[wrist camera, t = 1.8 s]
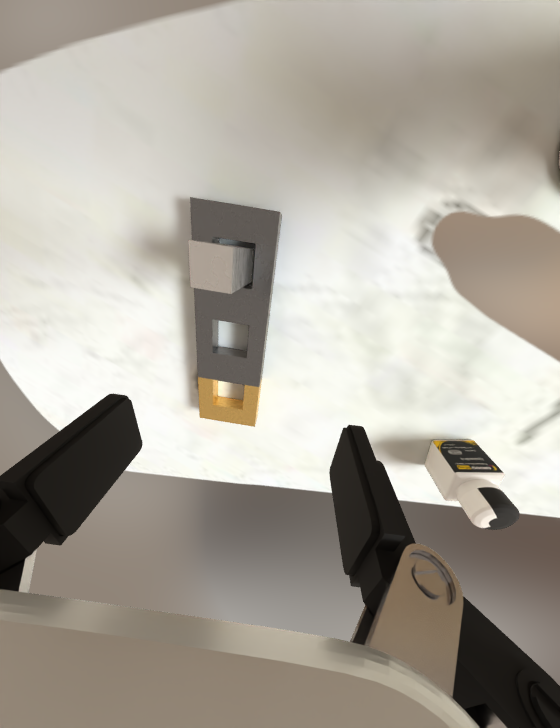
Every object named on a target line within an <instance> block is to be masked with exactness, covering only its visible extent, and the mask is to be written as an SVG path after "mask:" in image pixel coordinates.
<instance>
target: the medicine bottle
mask: <svg viewBox="0 0 560 728" xmlns="http://www.w3.org/2000/svg"><path fill="white" fill-rule="evenodd" d="M425 467H426V469H427V471H428V472H429V474H430V476H431V477H432V479H433V481H434V483H435V484H436V486H437V488H438V489H439V491H440V493H441V494H442V496H443V498H444V499H445V500H446V501H459V503H460V504H461V506H462V508H463V509H464V511H465V512H466V514H467V515H468V517H469V518H470V520H471V521H472V523H473V524H474V525H476V526H478V527H480V528H483V529H491V530H497V529H503V528H507V527H509V526H511V525H512V524H514V523H515V522H516V521H517V520H518V519H519V511H518V509H517V508H516V507H515V506H514V504H513V503H512V502H511V501H510V500H509V499H508V497H507V496H506V495H505V494H504V493H503V491H502V490H501V489H500V488H499V487H498V486H499V485H500V483H501V481H502V480H503V478H504V476H505V474H504V473H503V472H502V471H501V470H500V468H499V467H498V466H497V465H496V464H495V463H494V462H493V461H492V460H491V459H490V458H489V457H488V455H487V454H486V453H485V452H484V451H483V450H482V449H481V448H480V447H479V446H478V445H477V444H476V442H475V441H473V440H433V441H432V443H431V446H430V449H429V452H428V455H427V458H426V462H425Z"/></svg>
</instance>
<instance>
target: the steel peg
mask: <svg viewBox="0 0 560 728" xmlns="http://www.w3.org/2000/svg"><path fill="white" fill-rule="evenodd" d="M188 248H189V267H190V287H192V288H198V289H204V290H210V291H216V292H222V293H228V294H232V293H234V292H236V291H237V290H239V289H240V288H242V287H244V286H245V285H247V284H249V283H250V282H252V272H253V259H254V249H252V248H246V247H240V246H234V245H228V244H221V243H212V242H203V241H194V240H188Z"/></svg>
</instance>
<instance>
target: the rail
mask: <svg viewBox="0 0 560 728" xmlns="http://www.w3.org/2000/svg"><path fill="white" fill-rule="evenodd" d="M190 202H191V225H192V240H194V241H203V242H212V243H219V238H224V239H230V240H236V241H242V242H248V243H254V244H256V247H255V260H254V273H253V285H252V286H248V285H245V286H244V287H242V288H240V289H239V290H237V291H236V292H234V293H232V294H228V293H222V292H216V291H210V290H204V289H198V288H194V295H195V318H196V341H197V364H198V387H199V410H200V418H206V419H212V420H218V421H224V422H230V423H236V424H242V425H248V426H254V427H255V424H256V420H257V414H258V406H259V398H260V390H261V381H262V373H263V365H264V357H265V349H266V340H267V332H268V324H269V316H270V308H271V300H272V291H273V283H274V275H275V267H276V259H277V251H278V242H279V234H280V226H281V218H282V215H281V213H280V212H277V211H271V210H265V209H259V208H253V207H247V206H241V205H234V204H228V203H222V202H216V201H210V200H204V199H197V198H191V197H190ZM218 320H220V321H226V322H232V323H238V324H244V325H249V336H248V349H247V351H243V350H237V349H231V348H225V347H219V346H218ZM218 380H219V381H225V382H231V383H237V384H243V385H245V387H244V399H243V400H237V399H231V398H225V397H219V396H218Z"/></svg>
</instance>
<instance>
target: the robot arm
mask: <svg viewBox="0 0 560 728" xmlns="http://www.w3.org/2000/svg"><path fill="white" fill-rule="evenodd" d="M559 167H560V153H559ZM141 448H142V440H141V436H140V432H139V428H138V424H137V421H136V417H135V413H134V409H133V405H132V402H131V400H130V399H129V398H128V397H127V396H125V395H119V394H109V395H107V396H106V397H105V398H103V399H102V400H101V401H99V402H98V403H97V404H95V405H94V406H93V407H91V408H90V409H89V410H87V411H86V412H85V413H83V414H82V415H81V416H79V417H78V418H77V419H75V420H74V421H73V422H71V423H70V424H69V425H67V426H66V427H65V428H63V429H62V430H61V431H59V432H58V433H57V434H55V435H54V436H53V437H51V438H50V439H49V440H47V441H46V442H45V443H43V444H42V445H41V446H39V447H38V448H37V449H35V450H34V451H33V452H32V453H30V454H29V455H27V456H26V457H25V458H24V459H22V460H21V461H19V462H18V463H17V464H15V465H14V466H13V467H11V468H10V469H9V470H8V471H6V472H5V473H3V474H2V475H1V476H0V728H560V686H559V685H558V684H557V683H556V682H555V681H554V680H553V679H552V678H551V677H550V676H549V675H548V674H547V673H546V672H545V671H544V670H543V669H542V668H541V667H540V666H538V665H537V664H536V663H535V662H534V661H533V660H532V659H531V658H530V657H529V656H528V655H527V654H525V653H524V652H523V651H522V650H521V649H520V648H519V647H518V646H517V645H516V644H515V643H514V642H512V641H511V640H510V639H509V638H508V637H507V636H506V635H505V634H504V633H502V631H501V630H499V629H498V628H497V627H496V626H495V625H494V624H493V623H492V622H491V621H490V620H489V619H487V618H486V617H485V616H484V615H483V614H482V613H481V612H480V611H479V610H478V609H477V608H476V607H474V606H473V605H472V604H471V603H470V602H469V601H468V600H467V599H466V598H465V597H463V592H462V589H461V586H460V583H459V581H458V579H457V578H456V575H455V574H454V572H453V570H452V569H451V568H450V566H449V565H448V564H447V562H446V561H445V560H444V559H443V558H442V557H441V556H440V555H438V554H437V553H436V552H435V551H433V550H432V549H430V548H429V547H427V546H424V545H421V544H416V543H415V541H414V538H413V536H412V533H411V531H410V528H409V526H408V524H407V521H406V519H405V516H404V514H403V511H402V509H401V506H400V504H399V502H398V499H397V497H396V494H395V492H394V489H393V487H392V484H391V482H390V480H389V477H388V475H387V472H386V470H385V467H384V466H383V464H382V463H381V462H380V461H376V458H375V456H374V453H373V450H372V448H371V445H370V443H369V440H368V438H367V435H366V432H365V430H364V428H363V427H362V426H355V425H348V427H347V428H343V430H342V434H341V437H340V440H339V443H338V446H337V449H336V452H335V455H334V458H333V461H332V464H331V467H330V481H331V488H332V495H333V501H334V508H335V515H336V522H337V528H338V535H339V542H340V548H341V555H342V562H343V568H344V572H345V574H346V575H349V576H350V583H351V586H354V587H360V588H361V593H362V598H363V602H364V603H365V607H364V609H363V611H362V614H361V616H360V619H359V621H358V624H357V626H356V628H355V631H354V633H353V635H352V638H351V640H350V642H348V641H344V640H339V639H335V638H329V637H323V636H318V635H312V634H306V633H300V632H294V631H289V630H282V629H276V628H270V627H263V626H255V625H249V624H243V623H236V622H229V621H222V620H216V619H208V618H202V617H195V616H188V615H181V614H174V613H168V612H161V611H154V610H147V609H139V608H133V607H125V606H118V605H111V604H104V603H97V602H90V601H82V600H75V599H68V598H61V597H54V596H46V595H39V594H32V593H28V592H29V587H30V581H31V576H32V571H33V565H34V560H35V555H36V549H37V548H38V547H39V546H40V545H41V543H42V542H43V541H44V542H45V543H47V544H54V545H62V543H63V542H64V541H65V540H66V538H67V537H68V536H69V535H72V534H73V533H74V532H76V530H77V529H78V528H79V527H80V526H81V524H82V523H83V522H84V520H85V519H86V518H87V517H88V516H89V514H90V513H91V512H92V510H93V509H94V508H95V507H96V505H97V504H98V503H99V502H100V500H101V499H102V498H103V497H104V495H105V494H106V493H107V491H108V490H109V489H110V488H111V486H112V485H113V484H114V483H115V482H116V480H117V479H118V478H119V476H120V475H121V474H122V473H123V471H124V470H125V469H126V468H127V466H128V465H129V464H130V463H131V461H132V460H133V459H134V458H135V456H136V455H137V454H138V453H139V451H140V450H141Z"/></svg>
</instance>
